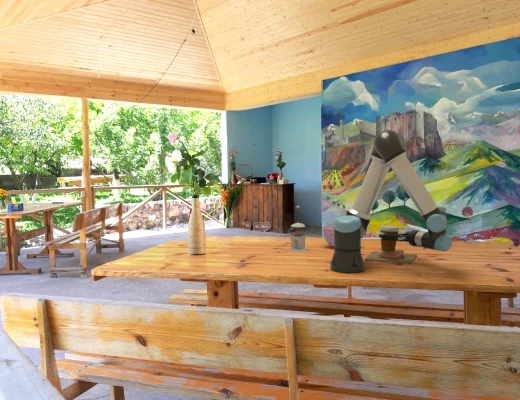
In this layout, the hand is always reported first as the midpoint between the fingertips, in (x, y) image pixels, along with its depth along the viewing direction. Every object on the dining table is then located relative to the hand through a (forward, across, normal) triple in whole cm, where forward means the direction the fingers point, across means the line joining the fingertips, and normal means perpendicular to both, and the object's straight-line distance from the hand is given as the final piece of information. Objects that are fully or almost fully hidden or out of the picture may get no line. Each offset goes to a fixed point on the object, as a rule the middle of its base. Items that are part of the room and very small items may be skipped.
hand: (386, 233), depth 225 cm
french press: (+42, -27, -12) cm, 51 cm away
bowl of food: (+36, -1, -12) cm, 38 cm away
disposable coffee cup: (-4, -3, -8) cm, 9 cm away
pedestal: (-3, 0, -12) cm, 12 cm away
